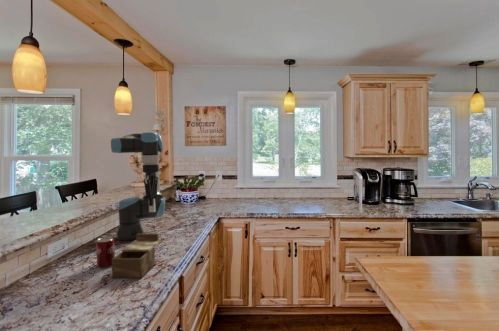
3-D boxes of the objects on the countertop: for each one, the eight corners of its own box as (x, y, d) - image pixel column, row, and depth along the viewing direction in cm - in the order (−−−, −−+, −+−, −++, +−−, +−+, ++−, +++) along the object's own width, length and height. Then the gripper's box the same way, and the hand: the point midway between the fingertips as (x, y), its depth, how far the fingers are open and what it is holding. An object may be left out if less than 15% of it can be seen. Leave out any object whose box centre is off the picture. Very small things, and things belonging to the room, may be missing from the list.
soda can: (95, 270, 127) (94, 242, 126) (99, 263, 134) (98, 238, 133) (113, 267, 129) (112, 241, 128) (116, 261, 136) (115, 236, 135)
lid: (136, 241, 139) (135, 233, 139) (160, 241, 138) (160, 233, 138) (121, 251, 125) (121, 242, 125) (148, 251, 124) (148, 242, 124)
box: (129, 265, 132) (128, 247, 131) (155, 265, 131) (154, 247, 130) (112, 278, 118) (111, 259, 117) (141, 278, 117) (140, 259, 116)
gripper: (148, 163, 150) (150, 209, 151) (137, 164, 137) (139, 214, 138) (162, 163, 149) (164, 209, 150) (152, 164, 136) (154, 214, 137)
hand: (152, 211), depth 144 cm, fingers closed
